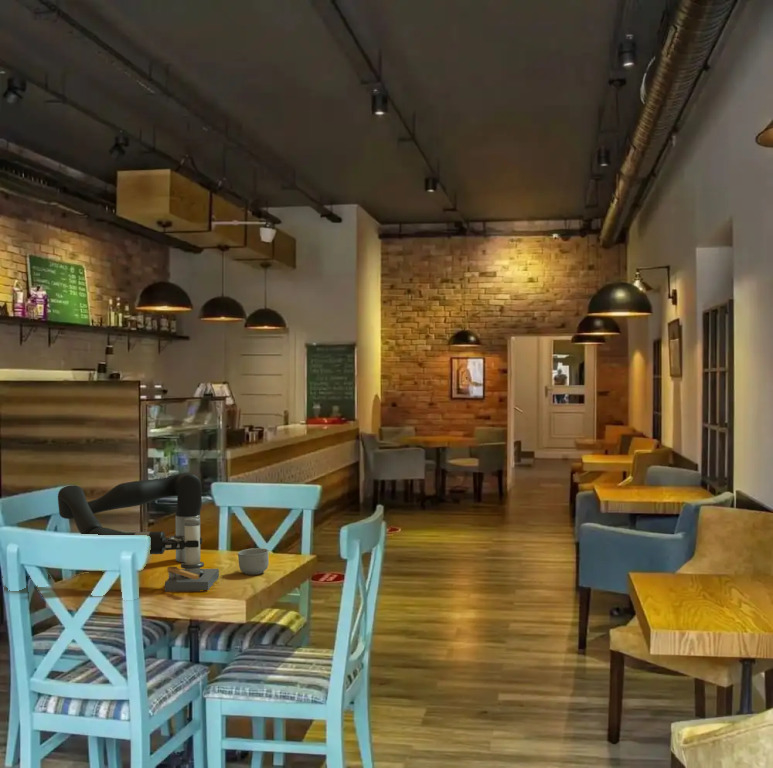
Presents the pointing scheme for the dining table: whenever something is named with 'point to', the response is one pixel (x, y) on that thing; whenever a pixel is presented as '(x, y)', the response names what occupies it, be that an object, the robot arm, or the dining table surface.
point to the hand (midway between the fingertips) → (199, 542)
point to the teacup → (253, 560)
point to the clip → (183, 572)
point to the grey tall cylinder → (192, 553)
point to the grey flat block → (192, 581)
